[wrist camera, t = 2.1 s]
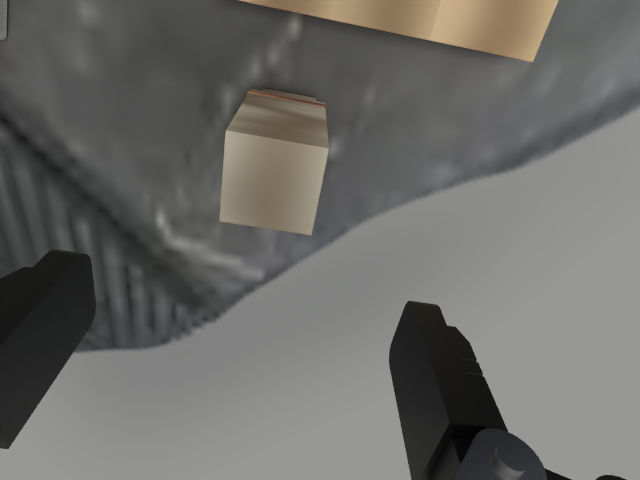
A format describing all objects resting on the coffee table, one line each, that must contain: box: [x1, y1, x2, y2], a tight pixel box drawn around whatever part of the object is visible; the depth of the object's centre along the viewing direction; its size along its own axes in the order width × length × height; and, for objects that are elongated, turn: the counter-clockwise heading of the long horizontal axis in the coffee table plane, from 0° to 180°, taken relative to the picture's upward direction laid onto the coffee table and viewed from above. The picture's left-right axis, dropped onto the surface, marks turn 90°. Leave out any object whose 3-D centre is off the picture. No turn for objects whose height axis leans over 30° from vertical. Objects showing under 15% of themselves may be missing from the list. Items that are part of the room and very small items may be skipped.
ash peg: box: [220, 88, 329, 235], centre depth 21 cm, size 4×4×10 cm
